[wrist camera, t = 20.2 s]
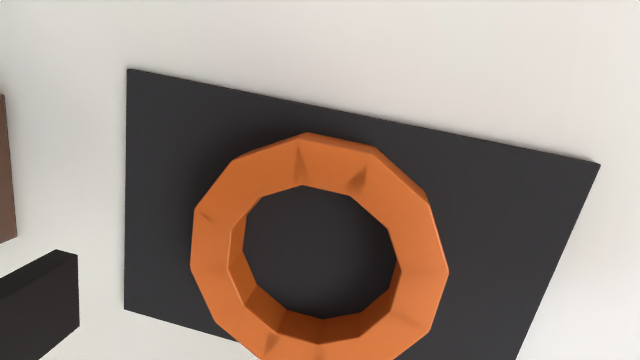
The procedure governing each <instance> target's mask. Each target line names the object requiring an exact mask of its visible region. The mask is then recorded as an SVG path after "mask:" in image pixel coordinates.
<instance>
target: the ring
mask: <svg viewBox="0 0 640 360" xmlns="http://www.w3.org/2000/svg"><path fill="white" fill-rule="evenodd" d="M300 185H305V186H310V187H314V188H318V189H323V190H327V191H331V192H336V193H340V194H344V195H349V196H351V197H352V198H353V199H354V200H355V201H357V202H358V203H359V204H360V205H361V206H362V207H363V208H365V209H366V210H367V211H368V212H369V213H370V214H371V215H372V216H374V217H375V218H376V219H377V220H378V221H379V222H380V223H382V224H383V225H384V226H385V227H386V228H387V229H388V233H389V236H390V239H391V242H392V245H393V248H394V251H395V254H396V257H397V261H396V265H395V269H394V272H393V276H392V279H391V283H390V286H389V289H388V290H386V291H385V292H384V293H383V294H382V295H381V296H379V297H378V298H377V299H376V300H375V301H374V302H372V303H371V304H370V305H369V306H368V307H367V308H365V309H364V310H363V311H362V312H359V313H354V314H349V315H344V316H339V317H333V318H328V319H319V318H316V317H312V316H308V315H305V314H301V313H297V312H294V311H290V310H287V309H286V308H284V307H283V306H282V305H281V304H280V303H278V302H277V301H276V300H275V299H274V298H273V297H271V296H270V295H269V294H268V293H267V292H265V291H264V290H263V289H262V288H261V287H260V286H258V285H257V284H256V281H255V279H254V277H253V274H252V272H251V270H250V267H249V265H248V263H247V260H246V258H245V256H244V253H243V251H242V249H243V241H244V233H245V225H246V218H247V214H248V213H249V212H250V211H251V209H252V208H253V207H254V206H255V205H256V204H257V202H258V201H259V200H260V199H261V198H262V197H263V196H267V195H270V194H273V193H277V192H280V191H283V190H287V189H290V188H293V187H297V186H300ZM190 267H191V268H190V269H191V272H192V274H193V276H194V278H195V280H196V282H197V284H198V287H199V289H200V291H201V293H202V295H203V297H204V299H205V302H206V304H207V306H208V308H209V310H210V312H211V314H212V317H213V319H214V320H215V322H216V323H217V324H218V325H219V326H220V327H222V328H223V329H224V330H225V331H226V332H228V333H229V334H230V335H231V336H232V337H234V338H235V339H236V340H237V341H238V342H240V343H241V344H242V345H243V346H244V347H246V348H247V349H248V350H249V351H250V352H252V353H253V354H254V355H255V356H256V357H258V358H259V359H260V360H393V359H395V358H396V357H397V356H398V355H400V354H401V353H402V352H404V351H405V350H406V349H408V348H409V347H410V346H412V345H413V344H414V343H415V342H417V341H418V340H419V339H421V338H422V337H423V336H425V335H426V334H427V333H428V332H429V331H430V329H431V326H432V323H433V320H434V317H435V314H436V311H437V308H438V305H439V302H440V299H441V296H442V293H443V290H444V287H445V284H446V281H447V278H448V275H449V268H448V265H447V261H446V258H445V254H444V251H443V248H442V244H441V241H440V237H439V234H438V231H437V227H436V224H435V220H434V217H433V213H432V210H431V207H430V204H429V201H428V199H427V196H426V194H425V192H424V190H423V189H421V188H420V187H419V186H418V185H417V184H416V183H415V182H414V181H413V180H411V179H410V178H409V177H408V176H407V175H406V174H405V173H404V172H402V171H401V170H400V169H399V168H398V167H397V166H396V165H395V164H394V163H392V162H391V161H390V160H389V159H388V158H387V157H386V156H385V155H383V154H382V153H381V152H380V151H379V150H378V149H377V148H376V147H374V146H372V145H367V144H362V143H358V142H353V141H348V140H343V139H339V138H334V137H329V136H325V135H320V134H315V133H310V132H305V133H302V134H299V135H296V136H293V137H290V138H287V139H284V140H281V141H278V142H275V143H272V144H270V145H267V146H264V147H261V148H258V149H255V150H252V151H249V152H247V153H245V154H243V155H241V156H239V157H237V158H236V159H234V160H232V161H231V162H230V163H229V165H228V166H227V167H226V168H225V170H224V171H223V172H222V174H221V175H220V176H219V177H218V179H217V180H216V181H215V183H214V184H213V185H212V186H211V188H210V189H209V190H208V192H207V193H206V194H205V195H204V197H203V198H202V199H201V201H200V202H199V203H198V204H197V206H196V207H195V210H194V219H193V232H192V245H191V258H190Z"/></svg>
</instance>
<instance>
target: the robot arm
mask: <svg viewBox="0 0 640 360" xmlns="http://www.w3.org/2000/svg"><path fill="white" fill-rule="evenodd" d="M79 326H80V321H79V288H78V256H77V255H76V254H72V253H68V252H64V251H60V250H56V249H55V250H54V251H52V252H50V253H48V254H46V255H44V256H42V257H40V258H38V259H36V260H34V261H33V262H31V263H29V264H27V265H25V266H23V267H21V268H19V269H17V270H15V271H14V272H12V273H10V274H8V275H6V276H4V277H2V278H0V360H39V359H40V358H41V357H43V356H44V355H45V354H46V353H47V352H49V351H50V350H51V349H52V348H54V347H55V346H56V345H57V344H58V343H60V342H61V341H62V340H63V339H64V338H66V337H67V336H68V335H69V334H70V333H72V332H73V331H74V330H75V329H77V328H78V327H79Z"/></svg>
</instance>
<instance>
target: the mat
mask: <svg viewBox="0 0 640 360" xmlns="http://www.w3.org/2000/svg"><path fill="white" fill-rule="evenodd" d="M305 132H310V133H315V134H320V135H325V136H329V137H334V138H339V139H343V140H348V141H353V142H358V143H362V144H367V145H372V146H374V147H376V148H377V149H378V150H379V151H380V152H381V153H382V154H383V155H385V156H386V157H387V158H388V159H389V160H390V161H391V162H392V163H394V164H395V165H396V166H397V167H398V168H399V169H400V170H401V171H402V172H404V173H405V174H406V175H407V176H408V177H409V178H410V179H411V180H413V181H414V182H415V183H416V184H417V185H418V186H419V187H420V188H421V189H423V190H424V192H425V194H426V196H427V199H428V201H429V204H430V207H431V210H432V213H433V217H434V220H435V224H436V227H437V231H438V234H439V237H440V241H441V244H442V248H443V251H444V254H445V258H446V261H447V265H448V268H449V275H448V278H447V281H446V284H445V287H444V290H443V293H442V296H441V299H440V302H439V305H438V308H437V311H436V314H435V317H434V320H433V323H432V326H431V329H430V331H429V332H428V333H427V334H426V335H425V336H423V337H422V338H421V339H419V340H418V341H417V342H415V343H414V344H413V345H412V346H410V347H409V348H408V349H406V350H405V351H404V352H402V353H401V354H400V355H398V356H397V357H396V358H395V359H393V360H515V359H516V357H517V355H518V352H519V350H520V348H521V346H522V343H523V341H524V339H525V337H526V334H527V332H528V330H529V327H530V325H531V323H532V321H533V318H534V316H535V314H536V312H537V309H538V307H539V305H540V303H541V300H542V298H543V296H544V293H545V291H546V289H547V287H548V284H549V282H550V280H551V278H552V275H553V273H554V271H555V268H556V266H557V264H558V262H559V259H560V257H561V255H562V253H563V250H564V248H565V246H566V244H567V241H568V239H569V237H570V234H571V232H572V230H573V228H574V225H575V223H576V221H577V219H578V216H579V214H580V212H581V209H582V207H583V205H584V203H585V200H586V198H587V196H588V194H589V191H590V189H591V187H592V184H593V182H594V180H595V178H596V175H597V173H598V171H599V169H600V166H601V165H600V164H598V163H595V162H590V161H585V160H580V159H575V158H570V157H565V156H560V155H555V154H550V153H545V152H540V151H536V150H531V149H526V148H521V147H516V146H511V145H506V144H501V143H496V142H491V141H486V140H481V139H476V138H471V137H466V136H461V135H456V134H452V133H447V132H442V131H437V130H432V129H427V128H422V127H417V126H412V125H407V124H402V123H397V122H392V121H387V120H382V119H377V118H372V117H367V116H363V115H358V114H353V113H348V112H343V111H338V110H333V109H328V108H323V107H318V106H313V105H308V104H303V103H298V102H293V101H288V100H283V99H279V98H274V97H269V96H264V95H259V94H254V93H249V92H244V91H239V90H234V89H229V88H224V87H219V86H214V85H209V84H204V83H199V82H195V81H190V80H185V79H180V78H175V77H170V76H165V75H160V74H155V73H150V72H145V71H140V70H135V69H127V105H126V187H125V270H124V309H125V310H128V311H132V312H135V313H139V314H142V315H146V316H149V317H153V318H156V319H159V320H163V321H166V322H170V323H173V324H177V325H180V326H184V327H187V328H191V329H194V330H198V331H201V332H205V333H208V334H212V335H215V336H218V337H222V338H225V339H229V340H232V341H236V342H238V341H237V340H236V339H235V338H234V337H232V336H231V335H230V334H229V333H228V332H226V331H225V330H224V329H223V328H222V327H220V326H219V325H218V324H217V323H216V322H215V320H214V319H213V317H212V314H211V312H210V310H209V308H208V306H207V304H206V302H205V299H204V297H203V295H202V293H201V291H200V289H199V287H198V284H197V282H196V280H195V278H194V276H193V274H192V272H191V269H190V268H191V267H190V258H191V245H192V232H193V219H194V210H195V207H196V206H197V204H198V203H199V202H200V201H201V199H202V198H203V197H204V195H205V194H206V193H207V192H208V190H209V189H210V188H211V186H212V185H213V184H214V183H215V181H216V180H217V179H218V177H219V176H220V175H221V174H222V172H223V171H224V170H225V168H226V167H227V166H228V165H229V163H230V162H231V161H232V160H234V159H236V158H237V157H239V156H241V155H243V154H245V153H247V152H249V151H252V150H255V149H258V148H261V147H264V146H267V145H270V144H272V143H275V142H278V141H281V140H284V139H287V138H290V137H293V136H296V135H299V134H302V133H305ZM242 251H243V253H244V256H245V258H246V260H247V263H248V265H249V267H250V270H251V272H252V274H253V277H254V279H255V281H256V284H257V285H258V286H260V287H261V288H262V289H263V290H264V291H265V292H267V293H268V294H269V295H270V296H271V297H273V298H274V299H275V300H276V301H277V302H278V303H280V304H281V305H282V306H283V307H284V308H286V309H287V310H290V311H294V312H297V313H301V314H305V315H308V316H312V317H316V318H319V319H328V318H333V317H339V316H344V315H349V314H354V313H359V312H362V311H363V310H364V309H365V308H367V307H368V306H369V305H370V304H371V303H372V302H374V301H375V300H376V299H377V298H378V297H379V296H381V295H382V294H383V293H384V292H385V291H386V290H388V289H389V286H390V283H391V279H392V276H393V272H394V269H395V265H396V261H397V257H396V254H395V251H394V248H393V245H392V242H391V239H390V236H389V233H388V229H387V228H386V227H385V226H384V225H383V224H382V223H380V222H379V221H378V220H377V219H376V218H375V217H374V216H372V215H371V214H370V213H369V212H368V211H367V210H366V209H365V208H363V207H362V206H361V205H360V204H359V203H358V202H357V201H355V200H354V199H353V198H352V197H351V196H349V195H344V194H340V193H336V192H331V191H327V190H323V189H318V188H314V187H310V186H305V185H300V186H297V187H293V188H290V189H287V190H283V191H280V192H277V193H273V194H270V195H267V196H263V197H262V198H261V199H260V200H259V201H258V202H257V204H256V205H255V206H254V207H253V208H252V209H251V211H250V212H249V213H248V214H247V218H246V225H245V233H244V241H243V249H242ZM239 343H240V342H239Z"/></svg>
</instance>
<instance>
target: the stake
mask: <svg viewBox="0 0 640 360" xmlns="http://www.w3.org/2000/svg"><path fill="white" fill-rule="evenodd" d="M15 237H17V231H16V220H15V209H14V198H13V187H12V177H11V166H10V155H9V144H8V133H7V122H6V111H5V100H4V95H2V94H0V244H1V243H3V242H5V241H8V240H10V239H13V238H15Z"/></svg>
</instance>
